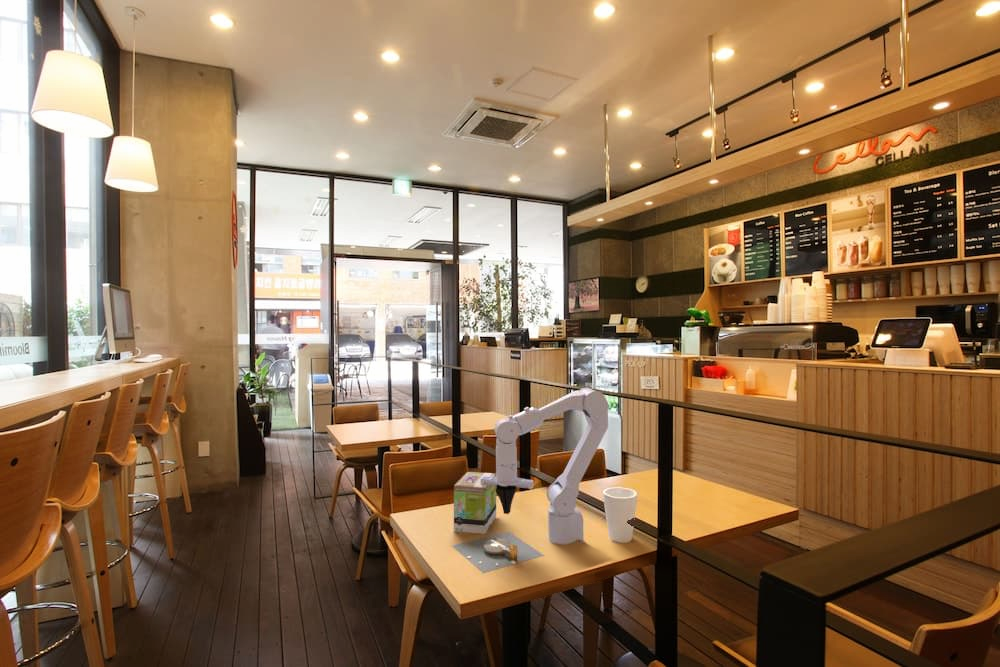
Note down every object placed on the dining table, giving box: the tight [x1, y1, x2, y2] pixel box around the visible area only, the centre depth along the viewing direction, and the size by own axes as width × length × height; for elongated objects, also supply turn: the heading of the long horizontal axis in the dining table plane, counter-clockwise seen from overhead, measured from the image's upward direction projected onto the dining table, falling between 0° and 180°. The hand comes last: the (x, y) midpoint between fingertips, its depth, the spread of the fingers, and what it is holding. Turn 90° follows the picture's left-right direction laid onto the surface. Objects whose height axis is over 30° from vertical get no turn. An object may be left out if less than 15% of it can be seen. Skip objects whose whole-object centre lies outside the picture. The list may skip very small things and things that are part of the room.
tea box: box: [453, 471, 497, 535], centre depth 156 cm, size 15×10×15 cm, turn 168°
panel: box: [451, 531, 545, 574], centre depth 137 cm, size 18×18×1 cm
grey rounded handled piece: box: [484, 538, 517, 560], centre depth 135 cm, size 12×7×3 cm, turn 37°
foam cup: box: [602, 486, 638, 544], centre depth 146 cm, size 10×9×13 cm
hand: (507, 512), depth 141 cm, fingers closed
